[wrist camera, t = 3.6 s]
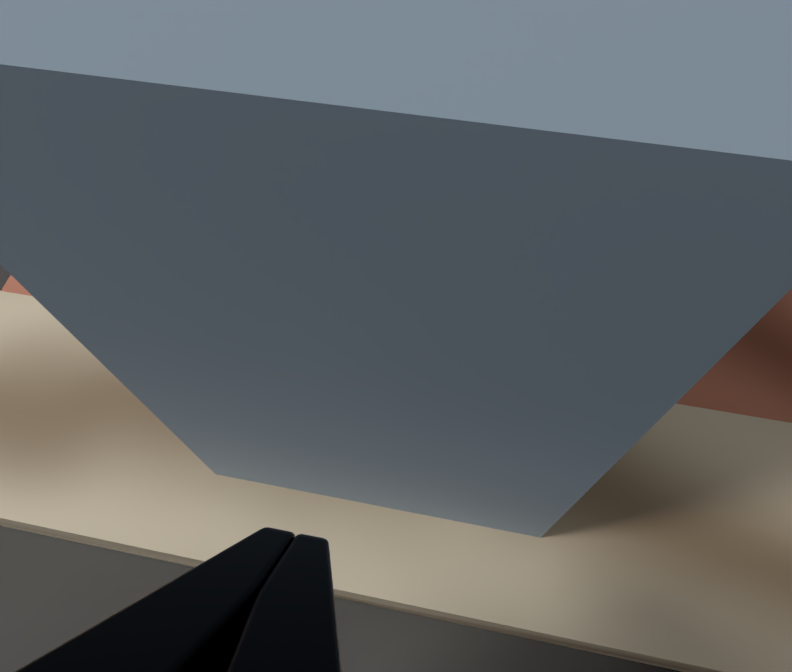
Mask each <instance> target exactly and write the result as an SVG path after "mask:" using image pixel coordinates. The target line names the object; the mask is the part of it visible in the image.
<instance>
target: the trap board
mask: <svg viewBox="0 0 792 672" xmlns="http://www.w3.org/2000/svg"><path fill="white" fill-rule="evenodd" d="M0 526H4V527H9V528H14V529H19V530H23V531H28V532H33V533H37V534H42V535H47V536H51V537H56V538H61V539H65V540H70V541H75V542H79V543H84V544H89V545H93V546H98V547H103V548H107V549H112V550H117V551H121V552H126V553H131V554H135V555H140V556H145V557H149V558H154V559H159V560H163V561H168V562H173V563H177V564H182V565H187V566H191V567H196V566H198V565H200V564H201V563H203V562H205V561H206V560H208V559H210V558H212V557H213V556H215V555H217V554H218V553H220V552H222V551H224V550H225V549H227V548H229V547H231V546H232V545H234V544H236V543H237V542H239V541H241V540H243V539H244V538H246V537H248V536H250V535H251V534H253V533H255V532H256V531H258V530H260V529H262V528H265V527H270V528H275V529H280V530H285V531H290V532H293V533H294V534H295V536H297V535H299V534H305V535H311V536H316V537H321V538H325V539H326V540H328V542H329V550H330V560H331V570H332V580H333V589H334V597H336V598H341V599H346V600H350V601H355V602H360V603H364V604H369V605H374V606H378V607H383V608H388V609H392V610H397V611H402V612H406V613H411V614H416V615H420V616H425V617H430V618H434V619H439V620H444V621H448V622H453V623H458V624H462V625H467V626H472V627H476V628H481V629H486V630H491V631H495V632H500V633H505V634H509V635H514V636H519V637H523V638H528V639H533V640H537V641H542V642H547V643H551V644H556V645H561V646H565V647H570V648H575V649H579V650H584V651H589V652H593V653H598V654H603V655H607V656H612V657H617V658H621V659H626V660H631V661H635V662H640V663H645V664H649V665H654V666H659V667H663V668H668V669H673V670H677V671H682V672H792V288H791V289H790V290H789V291H788V292H787V293H786V294H785V295H784V296H783V297H782V298H781V299H780V300H779V301H778V302H777V303H776V304H775V305H774V306H773V307H772V308H771V309H770V310H769V311H768V312H767V313H766V314H765V315H764V316H763V317H762V318H761V319H760V320H759V321H758V322H757V323H756V324H755V325H754V326H753V327H752V328H751V329H750V330H749V331H748V332H747V333H746V334H745V335H744V336H743V337H742V338H741V339H740V340H739V341H738V342H737V343H736V344H735V345H734V346H733V347H732V348H731V349H730V350H729V351H728V352H727V353H726V354H725V355H724V356H723V357H722V358H721V359H720V360H719V361H718V362H717V363H716V364H715V365H714V366H713V367H712V368H711V369H710V370H709V371H708V372H707V373H706V374H705V375H704V376H703V377H702V378H701V379H700V380H699V381H698V382H697V383H696V384H695V385H694V386H693V387H692V388H691V389H690V390H689V391H688V392H687V393H686V394H685V395H684V396H683V397H682V398H681V399H680V400H679V401H678V402H677V403H676V404H675V405H674V406H673V407H672V408H671V409H670V410H669V411H668V412H667V413H666V414H665V415H664V416H663V417H662V418H661V419H660V420H658V421H657V422H656V423H655V424H654V425H653V426H652V427H651V428H650V429H649V430H648V431H647V432H646V433H645V434H644V435H643V436H642V437H641V438H640V439H639V440H638V441H637V442H636V443H635V444H634V445H633V446H632V447H631V448H630V449H629V450H628V451H627V452H626V453H625V454H624V455H623V456H622V457H621V458H620V459H619V460H618V461H617V462H616V463H615V464H614V465H613V466H612V467H611V468H610V469H609V470H608V471H607V472H606V473H605V474H604V475H603V476H602V477H601V478H600V479H599V480H598V481H597V482H596V483H595V484H594V485H593V486H592V487H591V488H590V489H589V490H588V491H587V492H586V493H585V494H584V495H583V496H582V497H581V498H580V499H579V500H578V501H577V502H576V503H575V504H574V505H573V506H572V507H571V508H570V509H569V510H568V511H567V512H566V513H565V514H564V515H563V516H562V517H561V518H560V519H559V520H558V521H557V522H556V523H555V524H554V525H553V526H552V527H551V528H550V529H549V530H548V531H547V532H546V533H545V534H544V535H543V536H542V537H541V538H539V537H534V536H529V535H524V534H519V533H514V532H509V531H504V530H499V529H493V528H488V527H483V526H478V525H473V524H468V523H463V522H458V521H452V520H447V519H442V518H437V517H432V516H427V515H422V514H417V513H411V512H406V511H401V510H396V509H391V508H386V507H381V506H376V505H370V504H365V503H360V502H355V501H350V500H345V499H340V498H335V497H330V496H324V495H319V494H314V493H309V492H304V491H299V490H294V489H289V488H283V487H278V486H273V485H268V484H263V483H258V482H253V481H248V480H242V479H237V478H232V477H227V476H222V475H217V474H215V473H214V472H213V471H212V470H211V469H210V468H209V467H207V466H206V465H205V464H204V463H203V462H202V461H201V460H200V459H199V458H198V457H197V456H196V455H195V454H194V453H193V452H192V451H191V450H190V449H189V448H188V447H187V446H186V445H185V444H184V443H183V442H182V441H181V440H180V439H179V438H178V437H177V436H176V435H175V434H174V433H173V432H172V431H171V430H170V429H169V428H167V427H166V426H165V425H164V424H163V423H162V422H161V421H160V420H159V419H158V418H157V417H156V416H155V415H154V414H153V413H152V412H151V411H150V410H149V409H148V408H147V407H146V406H145V405H144V404H143V403H142V402H141V401H140V400H139V399H138V398H137V397H136V396H135V395H134V394H133V393H132V392H131V391H130V390H129V389H127V388H126V387H125V386H124V385H123V384H122V383H121V382H120V381H119V380H118V379H117V378H116V377H115V376H114V375H113V374H112V373H111V372H110V371H109V370H108V369H107V368H106V367H105V366H104V365H103V364H102V363H101V362H100V361H99V360H98V359H97V358H96V357H95V356H94V355H93V354H92V353H91V352H90V351H89V350H88V349H86V348H85V347H84V346H83V345H82V344H81V343H80V342H79V341H78V340H77V339H76V338H75V337H74V336H73V335H72V334H71V333H70V332H69V331H68V330H67V329H66V328H65V327H64V326H63V325H62V324H61V323H60V322H59V321H58V320H57V319H56V318H55V317H54V316H53V315H52V314H51V313H50V312H49V311H48V310H46V309H45V308H44V307H43V306H42V305H41V304H40V303H39V302H38V301H37V300H36V299H35V298H34V297H33V296H32V295H31V294H30V293H29V292H28V291H27V290H26V289H25V288H24V287H23V286H22V285H21V284H20V283H19V282H18V281H17V280H16V279H15V278H14V277H13V276H12V275H10V277H9V279H8V280H7V282H6V284H5V285H4V287H3V289H2V291H0Z"/></svg>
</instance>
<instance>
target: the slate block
mask: <svg viewBox="0 0 792 672" xmlns="http://www.w3.org/2000/svg"><path fill="white" fill-rule="evenodd" d="M0 265H1V266H2V267H3V268H4V269H5V270H6V271H8V272H9V273H10V274H11V275H12V276H13V277H14V278H15V279H16V280H17V281H18V282H19V283H20V284H21V285H22V286H23V287H24V288H25V289H26V290H27V291H28V292H29V293H30V294H31V295H32V296H33V297H34V298H35V299H36V300H37V301H38V302H39V303H40V304H41V305H42V306H43V307H44V308H45V309H46V310H48V311H49V312H50V313H51V314H52V315H53V316H54V317H55V318H56V319H57V320H58V321H59V322H60V323H61V324H62V325H63V326H64V327H65V328H66V329H67V330H68V331H69V332H70V333H71V334H72V335H73V336H74V337H75V338H76V339H77V340H78V341H79V342H80V343H81V344H82V345H83V346H84V347H85V348H86V349H88V350H89V351H90V352H91V353H92V354H93V355H94V356H95V357H96V358H97V359H98V360H99V361H100V362H101V363H102V364H103V365H104V366H105V367H106V368H107V369H108V370H109V371H110V372H111V373H112V374H113V375H114V376H115V377H116V378H117V379H118V380H119V381H120V382H121V383H122V384H123V385H124V386H125V387H126V388H127V389H129V390H130V391H131V392H132V393H133V394H134V395H135V396H136V397H137V398H138V399H139V400H140V401H141V402H142V403H143V404H144V405H145V406H146V407H147V408H148V409H149V410H150V411H151V412H152V413H153V414H154V415H155V416H156V417H157V418H158V419H159V420H160V421H161V422H162V423H163V424H164V425H165V426H166V427H167V428H169V429H170V430H171V431H172V432H173V433H174V434H175V435H176V436H177V437H178V438H179V439H180V440H181V441H182V442H183V443H184V444H185V445H186V446H187V447H188V448H189V449H190V450H191V451H192V452H193V453H194V454H195V455H196V456H197V457H198V458H199V459H200V460H201V461H202V462H203V463H204V464H205V465H206V466H207V467H209V468H210V469H211V470H212V471H213V472H214V473H215V474H217V475H222V476H227V477H232V478H237V479H242V480H248V481H253V482H258V483H263V484H268V485H273V486H278V487H283V488H289V489H294V490H299V491H304V492H309V493H314V494H319V495H324V496H330V497H335V498H340V499H345V500H350V501H355V502H360V503H365V504H370V505H376V506H381V507H386V508H391V509H396V510H401V511H406V512H411V513H417V514H422V515H427V516H432V517H437V518H442V519H447V520H452V521H458V522H463V523H468V524H473V525H478V526H483V527H488V528H493V529H499V530H504V531H509V532H514V533H519V534H524V535H529V536H534V537H539V538H541V537H542V536H543V535H544V534H545V533H546V532H547V531H548V530H549V529H550V528H551V527H552V526H553V525H554V524H555V523H556V522H557V521H558V520H559V519H560V518H561V517H562V516H563V515H564V514H565V513H566V512H567V511H568V510H569V509H570V508H571V507H572V506H573V505H574V504H575V503H576V502H577V501H578V500H579V499H580V498H581V497H582V496H583V495H584V494H585V493H586V492H587V491H588V490H589V489H590V488H591V487H592V486H593V485H594V484H595V483H596V482H597V481H598V480H599V479H600V478H601V477H602V476H603V475H604V474H605V473H606V472H607V471H608V470H609V469H610V468H611V467H612V466H613V465H614V464H615V463H616V462H617V461H618V460H619V459H620V458H621V457H622V456H623V455H624V454H625V453H626V452H627V451H628V450H629V449H630V448H631V447H632V446H633V445H634V444H635V443H636V442H637V441H638V440H639V439H640V438H641V437H642V436H643V435H644V434H645V433H646V432H647V431H648V430H649V429H650V428H651V427H652V426H653V425H654V424H655V423H656V422H657V421H658V420H660V419H661V418H662V417H663V416H664V415H665V414H666V413H667V412H668V411H669V410H670V409H671V408H672V407H673V406H674V405H675V404H676V403H677V402H678V401H679V400H680V399H681V398H682V397H683V396H684V395H685V394H686V393H687V392H688V391H689V390H690V389H691V388H692V387H693V386H694V385H695V384H696V383H697V382H698V381H699V380H700V379H701V378H702V377H703V376H704V375H705V374H706V373H707V372H708V371H709V370H710V369H711V368H712V367H713V366H714V365H715V364H716V363H717V362H718V361H719V360H720V359H721V358H722V357H723V356H724V355H725V354H726V353H727V352H728V351H729V350H730V349H731V348H732V347H733V346H734V345H735V344H736V343H737V342H738V341H739V340H740V339H741V338H742V337H743V336H744V335H745V334H746V333H747V332H748V331H749V330H750V329H751V328H752V327H753V326H754V325H755V324H756V323H757V322H758V321H759V320H760V319H761V318H762V317H763V316H764V315H765V314H766V313H767V312H768V311H769V310H770V309H771V308H772V307H773V306H774V305H775V304H776V303H777V302H778V301H779V300H780V299H781V298H782V297H783V296H784V295H785V294H786V293H787V292H788V291H789V290H790V289H791V288H792V0H0Z"/></svg>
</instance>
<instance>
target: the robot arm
mask: <svg viewBox="0 0 792 672" xmlns="http://www.w3.org/2000/svg"><path fill="white" fill-rule="evenodd" d="M15 672H342V668H341V658H340V648H339V638H338V629H337V619H336V609H335V599H334V589H333V580H332V570H331V560H330V550H329V542H328V540H326V539H325V538H321V537H316V536H311V535H305V534H299V535H297V536H295V534H294V533H293V532H290V531H285V530H280V529H275V528H270V527H265V528H262V529H260V530H258V531H256V532H255V533H253V534H251V535H250V536H248V537H246V538H244V539H243V540H241V541H239V542H237V543H236V544H234V545H232V546H231V547H229V548H227V549H225V550H224V551H222V552H220V553H218V554H217V555H215V556H213V557H212V558H210V559H208V560H206V561H205V562H203V563H201V564H200V565H198V566H196V567H194V568H193V569H191V570H189V571H187V572H186V573H184V574H182V575H181V576H179V577H177V578H175V579H174V580H172V581H170V582H168V583H167V584H165V585H163V586H162V587H160V588H158V589H156V590H155V591H153V592H151V593H149V594H148V595H146V596H144V597H143V598H141V599H139V600H137V601H136V602H134V603H132V604H131V605H129V606H127V607H125V608H124V609H122V610H120V611H118V612H117V613H115V614H113V615H112V616H110V617H108V618H106V619H105V620H103V621H101V622H99V623H98V624H96V625H94V626H93V627H91V628H89V629H87V630H86V631H84V632H82V633H80V634H79V635H77V636H75V637H74V638H72V639H70V640H68V641H67V642H65V643H63V644H62V645H60V646H58V647H56V648H55V649H53V650H51V651H49V652H48V653H46V654H44V655H43V656H41V657H39V658H37V659H36V660H34V661H32V662H30V663H29V664H27V665H25V666H24V667H22V668H20V669H18V670H17V671H15Z"/></svg>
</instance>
